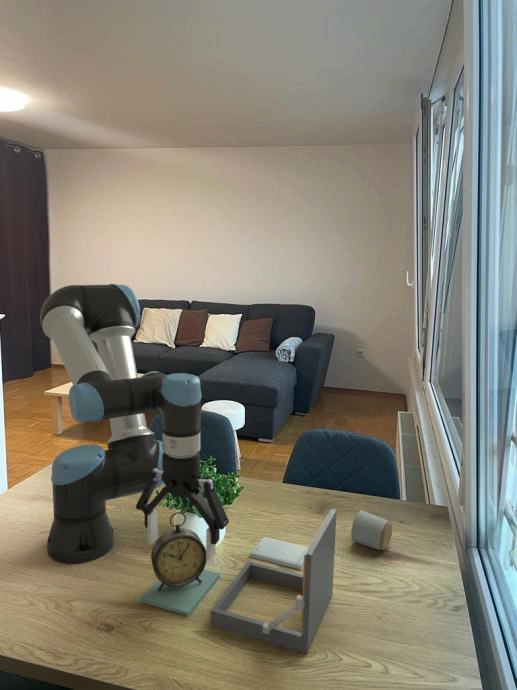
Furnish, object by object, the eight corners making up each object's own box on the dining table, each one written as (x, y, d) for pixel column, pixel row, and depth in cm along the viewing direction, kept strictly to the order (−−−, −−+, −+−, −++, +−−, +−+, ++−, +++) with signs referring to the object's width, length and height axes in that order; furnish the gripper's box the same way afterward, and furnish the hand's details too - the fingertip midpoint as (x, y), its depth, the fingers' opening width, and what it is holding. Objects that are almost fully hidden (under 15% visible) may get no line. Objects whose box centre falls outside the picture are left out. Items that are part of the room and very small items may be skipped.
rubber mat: (140, 601, 109) (140, 598, 108) (175, 565, 121) (175, 561, 121) (188, 616, 105) (188, 612, 104) (220, 576, 117) (220, 573, 117)
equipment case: (207, 628, 101) (208, 535, 98) (247, 573, 119) (249, 492, 116) (305, 658, 94) (309, 558, 91) (332, 595, 112) (336, 509, 109)
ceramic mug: (382, 557, 126) (384, 526, 125) (349, 546, 131) (351, 516, 129) (396, 538, 135) (399, 509, 134) (365, 528, 139) (367, 500, 138)
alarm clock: (154, 596, 109) (153, 522, 106) (150, 581, 114) (149, 509, 111) (207, 587, 112) (207, 514, 110) (201, 572, 117) (201, 502, 115)
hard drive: (250, 552, 125) (301, 565, 120) (263, 535, 133) (312, 547, 128) (250, 559, 126) (301, 572, 121) (263, 542, 133) (312, 553, 128)
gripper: (117, 447, 109) (119, 544, 113) (230, 469, 100) (228, 573, 104) (139, 436, 116) (140, 527, 120) (246, 455, 107) (243, 553, 111)
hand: (181, 549), depth 112 cm, fingers open, 13 cm apart
